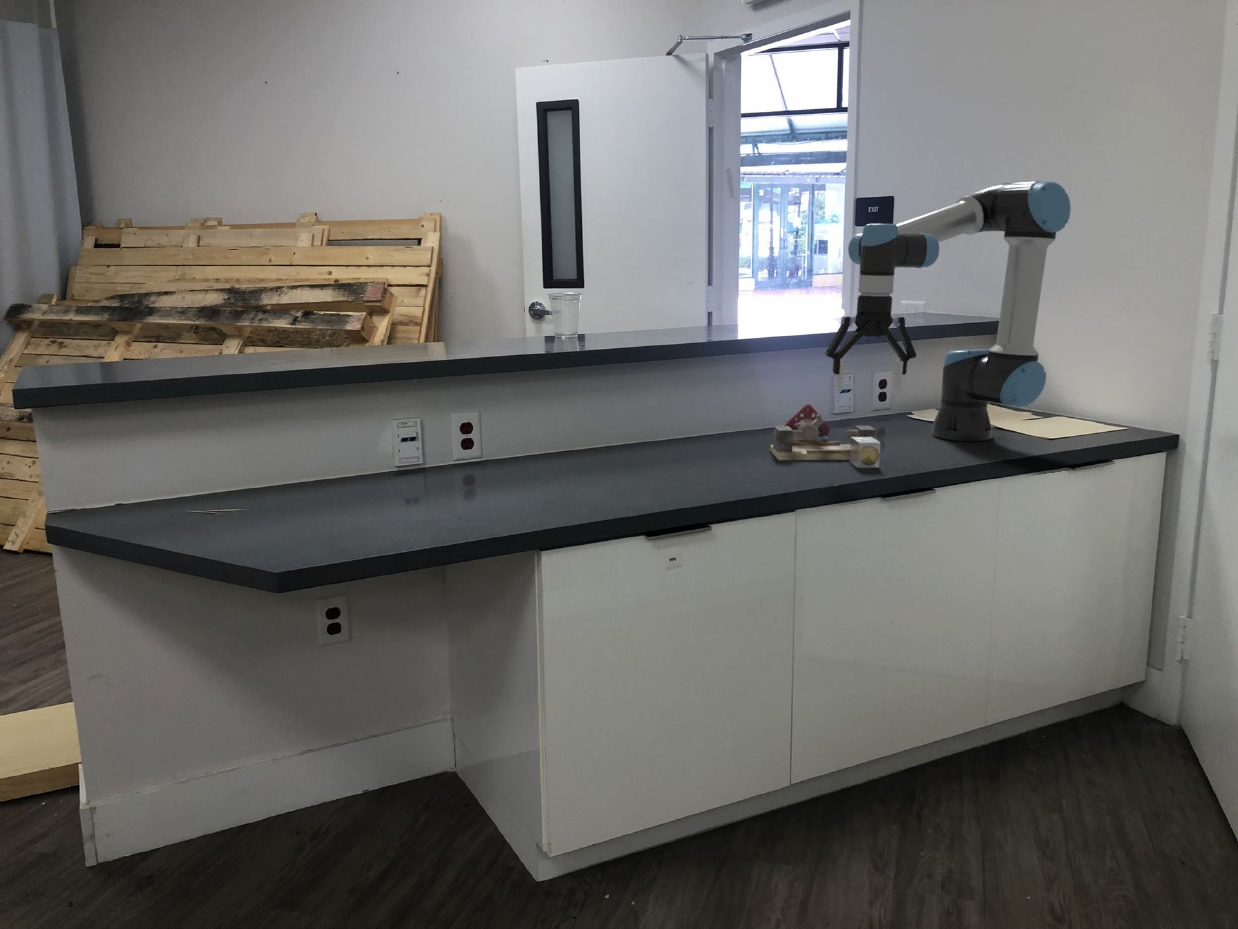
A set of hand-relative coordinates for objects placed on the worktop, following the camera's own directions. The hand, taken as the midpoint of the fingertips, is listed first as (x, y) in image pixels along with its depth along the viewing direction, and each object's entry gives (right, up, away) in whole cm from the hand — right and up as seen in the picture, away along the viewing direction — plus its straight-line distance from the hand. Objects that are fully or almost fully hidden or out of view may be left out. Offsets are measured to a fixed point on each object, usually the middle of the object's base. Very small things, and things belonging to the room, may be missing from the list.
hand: (868, 388), depth 221 cm
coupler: (0, -17, +4) cm, 18 cm away
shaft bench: (-7, -15, +14) cm, 22 cm away
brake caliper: (-10, -13, +22) cm, 28 cm away
